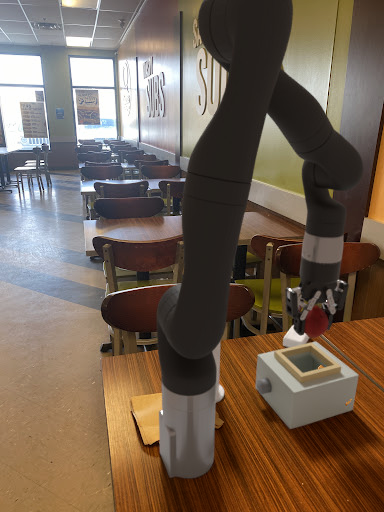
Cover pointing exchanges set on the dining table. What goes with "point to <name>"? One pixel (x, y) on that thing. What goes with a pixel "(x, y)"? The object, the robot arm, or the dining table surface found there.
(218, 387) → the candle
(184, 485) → the dining table surface
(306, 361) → the box
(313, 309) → the onion
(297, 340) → the soap
